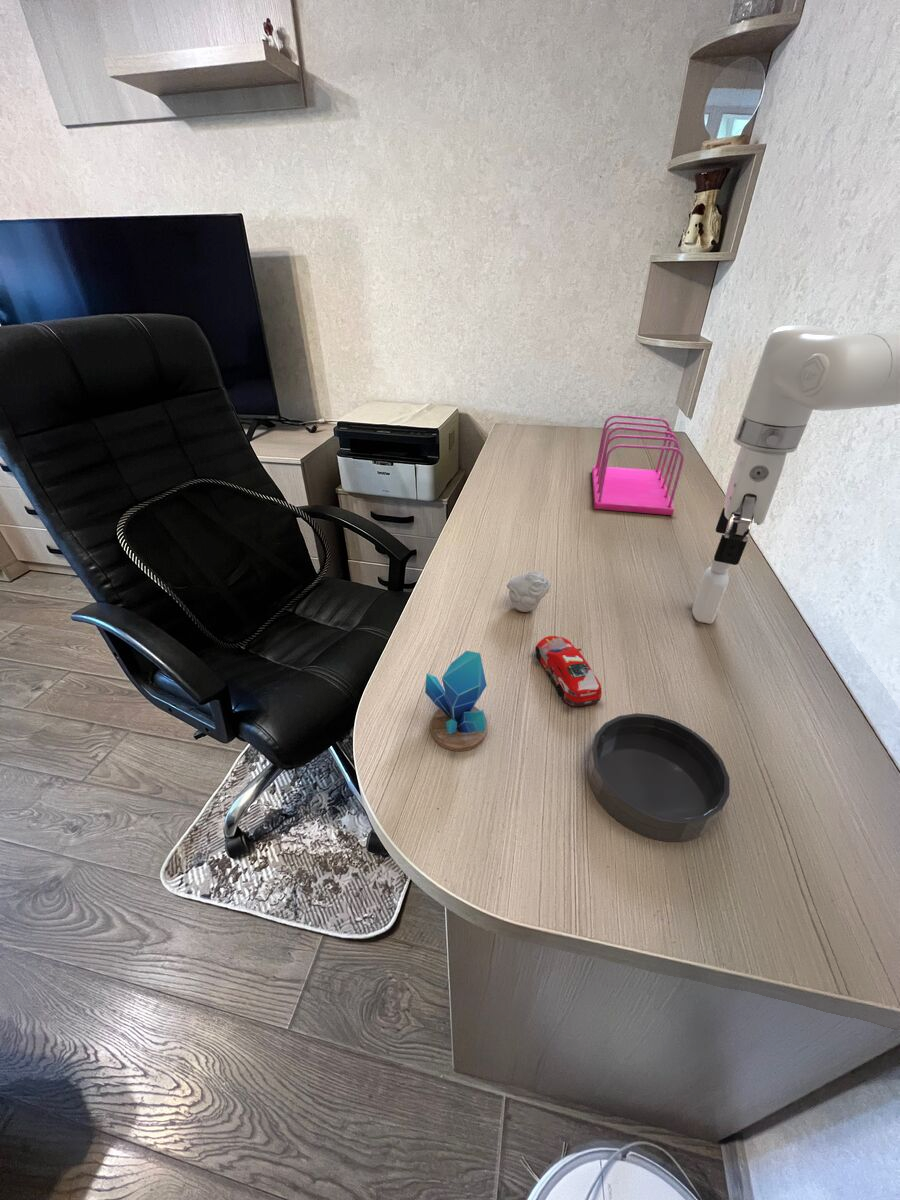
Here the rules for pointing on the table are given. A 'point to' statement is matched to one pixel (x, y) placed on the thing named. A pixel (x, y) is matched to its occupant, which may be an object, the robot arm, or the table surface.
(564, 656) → the race car
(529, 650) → the table surface
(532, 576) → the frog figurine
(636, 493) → the file sorter
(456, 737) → the gemstone
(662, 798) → the pan
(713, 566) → the eye dropper bottle
